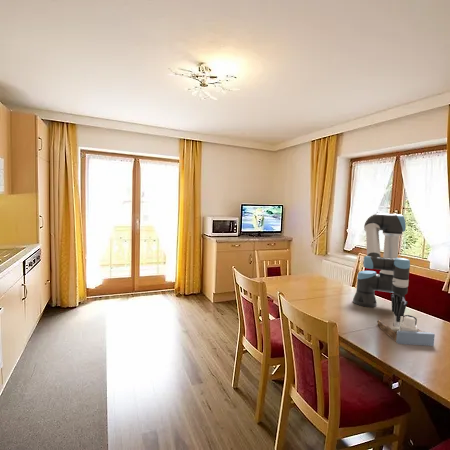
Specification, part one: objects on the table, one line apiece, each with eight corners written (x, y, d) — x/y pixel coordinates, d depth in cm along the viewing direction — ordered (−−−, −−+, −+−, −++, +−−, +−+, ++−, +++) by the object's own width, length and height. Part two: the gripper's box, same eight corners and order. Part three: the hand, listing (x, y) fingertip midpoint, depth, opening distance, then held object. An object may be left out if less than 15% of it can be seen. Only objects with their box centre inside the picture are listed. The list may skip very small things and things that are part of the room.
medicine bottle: (400, 334, 154) (402, 312, 153) (416, 338, 150) (418, 316, 149) (399, 338, 148) (401, 316, 148) (415, 343, 144) (417, 320, 143)
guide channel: (377, 325, 165) (377, 320, 165) (407, 327, 164) (408, 322, 164) (396, 341, 145) (396, 336, 145) (430, 344, 144) (431, 338, 144)
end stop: (396, 341, 145) (397, 330, 144) (430, 344, 144) (432, 332, 143) (398, 343, 143) (399, 332, 142) (433, 345, 142) (434, 334, 141)
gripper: (387, 282, 166) (383, 321, 167) (399, 288, 153) (395, 331, 155) (400, 282, 165) (396, 321, 167) (414, 289, 152) (410, 331, 154)
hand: (396, 326), depth 161 cm, fingers closed
